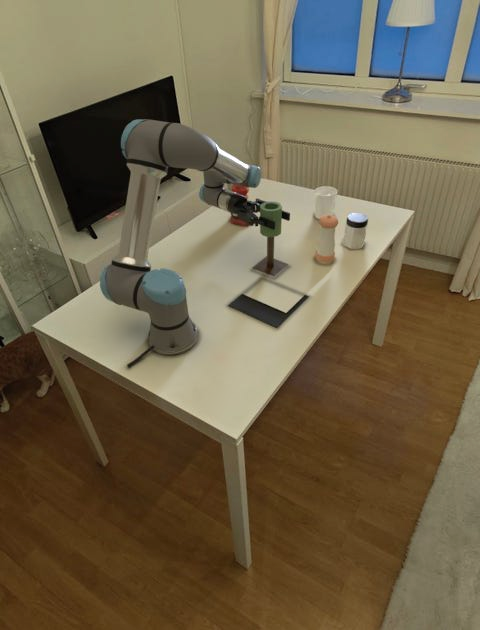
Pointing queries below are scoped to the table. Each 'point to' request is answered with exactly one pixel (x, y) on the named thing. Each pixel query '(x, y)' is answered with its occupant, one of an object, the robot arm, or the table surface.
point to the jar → (355, 230)
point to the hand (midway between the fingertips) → (281, 221)
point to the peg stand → (270, 261)
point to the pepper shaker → (326, 239)
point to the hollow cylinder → (271, 218)
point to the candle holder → (325, 201)
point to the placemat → (263, 310)
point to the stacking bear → (244, 191)
